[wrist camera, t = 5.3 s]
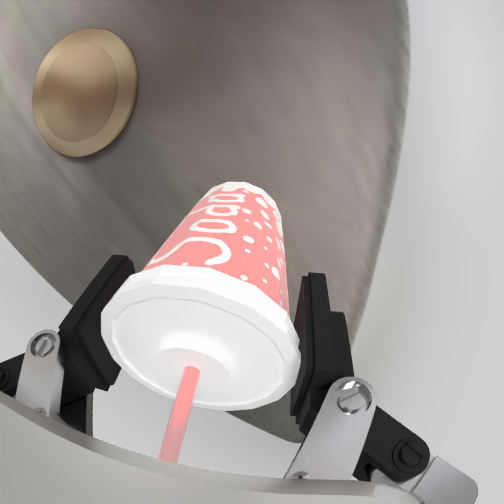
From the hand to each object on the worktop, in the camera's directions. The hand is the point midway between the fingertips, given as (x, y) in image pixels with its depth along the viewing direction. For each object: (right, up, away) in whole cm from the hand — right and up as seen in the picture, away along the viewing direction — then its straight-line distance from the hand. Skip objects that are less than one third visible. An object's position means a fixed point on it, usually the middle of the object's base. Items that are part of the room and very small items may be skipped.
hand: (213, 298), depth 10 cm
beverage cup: (+1, +3, +5) cm, 6 cm away
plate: (-12, +15, +7) cm, 20 cm away
